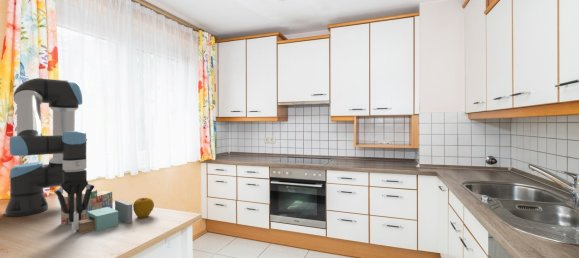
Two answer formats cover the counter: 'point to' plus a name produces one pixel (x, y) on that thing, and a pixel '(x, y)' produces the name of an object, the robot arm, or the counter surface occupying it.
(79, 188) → the robot arm
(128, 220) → the wall
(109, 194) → the stack of blocks
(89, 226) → the brown wooden bar
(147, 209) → the apple
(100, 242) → the counter surface
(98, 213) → the block
